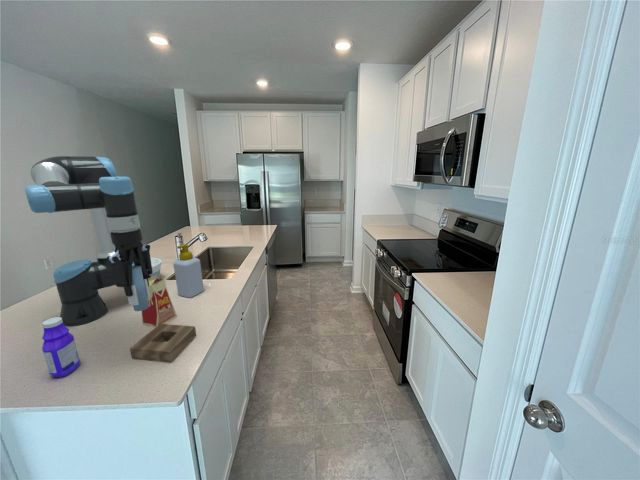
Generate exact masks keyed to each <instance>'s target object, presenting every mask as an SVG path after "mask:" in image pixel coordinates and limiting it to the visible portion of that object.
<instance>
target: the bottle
mask: <svg viewBox="0 0 640 480" xmlns="http://www.w3.org/2000/svg"><path fill="white" fill-rule="evenodd" d="M42 328H43V334H42V337H41V339H42V340H43V343H42V347H41V349H42V353H43V358H44V359H45V360H44V361H45V363H46V365H47V369H48V372H49V373H48V374H49V375H50V376H51V377H53V378H62V377H65V376H67V375H69V374H71V373H72V372H74V370H76V369H77V368H78V367H79V365H80V363H81V359H80V355H79V351H78V347H77V344H76V340H75V337H74V335H73V334H72V333H71V332H69V331H70V328H68V326H65V325H64V323H63V321H62V318H61V317H60V316H57V317H56V316H55V317H51V318H48V319H46V320H44V321H43V322H42Z"/></svg>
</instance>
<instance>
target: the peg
mask: <svg viewBox="0 0 640 480" xmlns="http://www.w3.org/2000/svg"><path fill="white" fill-rule="evenodd" d="M132 285H135V288H136V293H137V297H138V302H139V304H138V305H132V307H133V311H135V312H142V310H145V309H147V308H148V307H149V305H148V300H147V295H146V290H145V285H144V279H143V274H142V269H141V266H139V265H134V266H132Z"/></svg>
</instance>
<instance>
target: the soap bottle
mask: <svg viewBox="0 0 640 480" xmlns="http://www.w3.org/2000/svg"><path fill="white" fill-rule="evenodd" d="M177 249H181V252H180V253H179V257H178V258H179V259H177V260H175V261H174V262H173V263H172V264H173V269H174V276H175V277H174V278H175V283H176V290H177V294H178V296H180V297H186V298H193V297H195V296H197V295H199V294H201V293H202V292H204V291H205V289H204V283H203V282H204V281H203V273H202V272H203V271H202V266H201V259H199V258H197V257H193V253H192V251H189V246H188V243H183V244H180V245H178V246H177Z"/></svg>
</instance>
